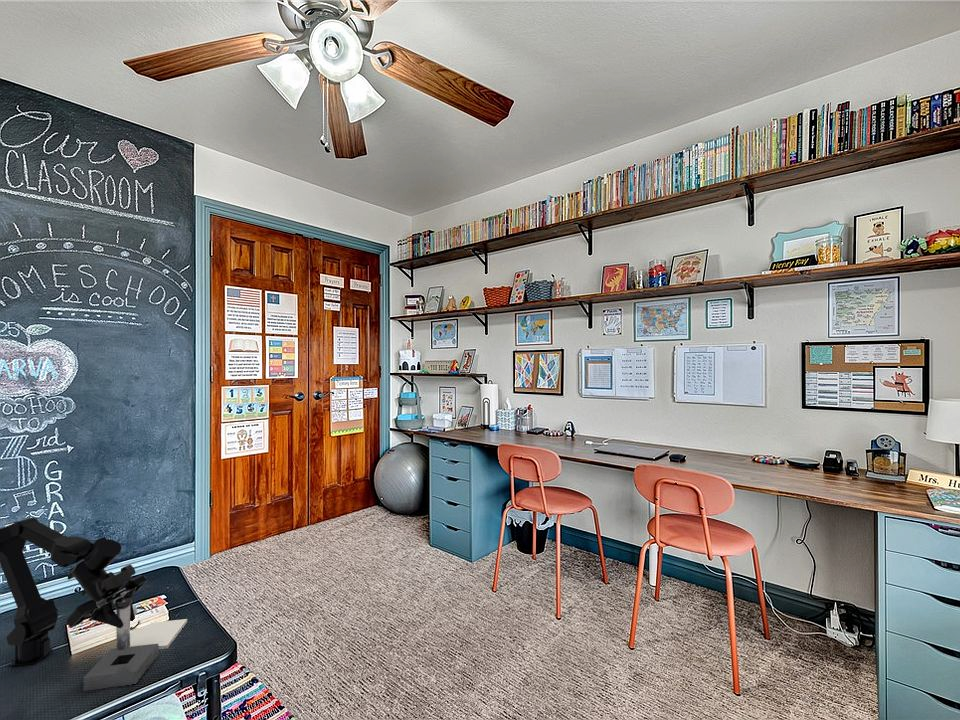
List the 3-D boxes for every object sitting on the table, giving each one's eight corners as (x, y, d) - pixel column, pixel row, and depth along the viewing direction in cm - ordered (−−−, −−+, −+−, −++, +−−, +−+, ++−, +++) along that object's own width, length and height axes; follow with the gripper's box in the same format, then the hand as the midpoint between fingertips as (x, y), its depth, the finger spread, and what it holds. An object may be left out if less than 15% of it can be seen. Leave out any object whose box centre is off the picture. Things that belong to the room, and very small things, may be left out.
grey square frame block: (83, 691, 118) (83, 677, 118) (111, 661, 130) (111, 648, 130) (136, 684, 120) (136, 671, 120) (158, 655, 132) (158, 643, 132)
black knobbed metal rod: (112, 651, 123) (112, 603, 123) (119, 643, 127) (119, 596, 127) (127, 650, 124) (127, 602, 124) (134, 642, 127) (134, 595, 127)
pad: (113, 654, 133) (113, 651, 132) (138, 627, 146) (138, 623, 146) (167, 648, 135) (167, 645, 135) (187, 622, 149) (187, 618, 149)
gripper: (75, 576, 117) (111, 624, 115) (142, 546, 135) (174, 587, 133) (50, 604, 118) (86, 652, 116) (119, 571, 137) (151, 612, 135)
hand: (127, 623), depth 125 cm, fingers closed on black knobbed metal rod, 3 cm apart
